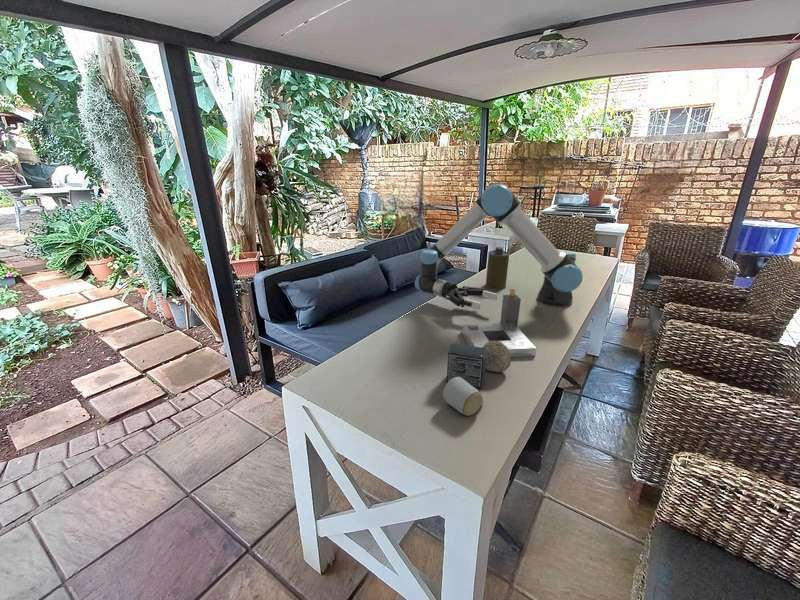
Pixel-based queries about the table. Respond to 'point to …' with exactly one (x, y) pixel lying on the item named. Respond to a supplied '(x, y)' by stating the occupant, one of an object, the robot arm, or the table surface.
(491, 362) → the stone
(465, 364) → the small box
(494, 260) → the canister
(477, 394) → the white short cylinder
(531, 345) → the socket
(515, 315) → the plug
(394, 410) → the table surface
